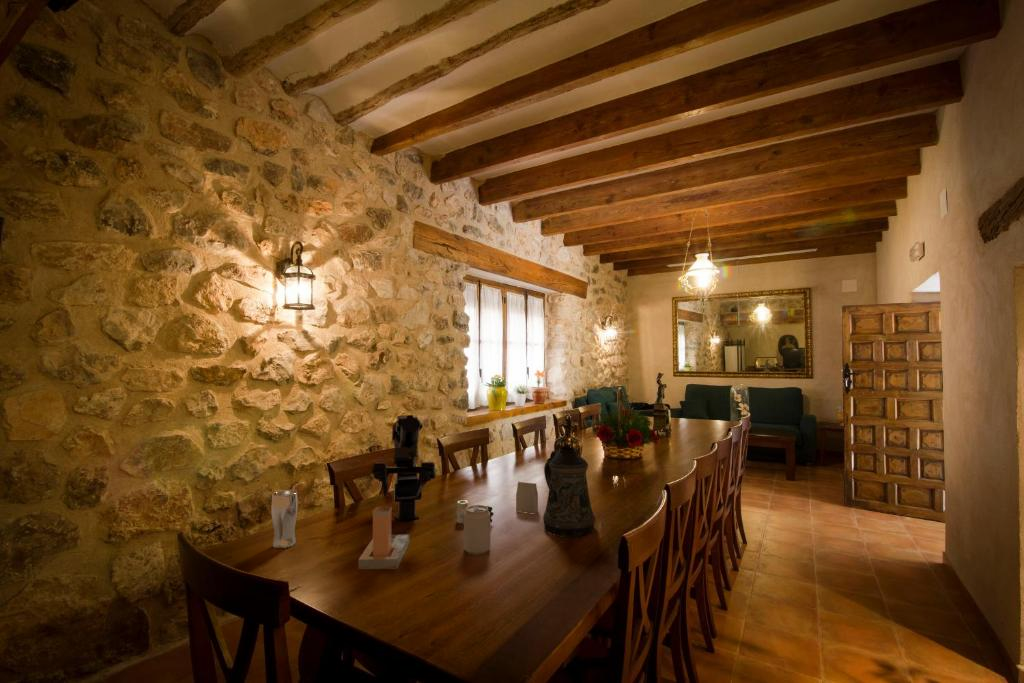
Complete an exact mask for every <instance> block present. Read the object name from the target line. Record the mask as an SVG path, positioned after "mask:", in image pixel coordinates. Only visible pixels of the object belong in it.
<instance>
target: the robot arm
mask: <svg viewBox="0 0 1024 683" xmlns="http://www.w3.org/2000/svg"><path fill="white" fill-rule="evenodd" d="M391 427H392V428H391V440H392V442H393V444H394V445H393V447H394V449H393V459H394V460H393V463H394V465H395V466H388V463H387V462H384V461H383V462H381V461H380V462H374V463H373V464H372V466H371V472H372V474H373V477H374V479H376V480H377V481H378V482H381V484H382V485H381V486H382V492H383V496H384V498H386V497H387V494H388V487H389V475H390V474H397V475H396V483H394V486H393V487H394V488H393V499H394V503H397V502H398V503H397V504H398V509H397V514H394V517H395V518H396V519H398V521H399V522H407V521H412V520H417V518H418V519H420V515H418V514H417V513H416V510H417V509H416V505H417V504H416V501H420V500H421V499H422V491H423V488H424V486H425V485H426V484H427V483H428V482H431V481H432V480H434V479H436V475H437V474H436V473H437V470H436V469H437V468H436V463H434V461H422V462H421V465H420V466H415V465H416V461H417V460H416V459H417V457H418V455H419V446H418V444H419V435H420V431H421V429H423V423H422V422H421V421H420V419H418V417H417V416H414V415H413V414H407V415H405V414H404V415H398V416H397V420H396V421H395V423H393V425H392V426H391Z"/></svg>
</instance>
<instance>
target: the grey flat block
mask: <svg viewBox="0 0 1024 683" xmlns="http://www.w3.org/2000/svg"><path fill="white" fill-rule="evenodd" d="M409 544H410V534H391V556H379V557H373V538H372V539H371V541H370V542H369V544H368V545H367V546H366V548H365V549H364V550H363V552H362V553H361V555H360V556H359V558H358V561H357V562H358V567H357V568H358V570H396V569H398V568H399V567H400V564H401V562H402V560H403V557H404V556H403V555H405V553H406V551H407V549H408V547H409Z"/></svg>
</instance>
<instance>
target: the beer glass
mask: <svg viewBox="0 0 1024 683" xmlns="http://www.w3.org/2000/svg"><path fill="white" fill-rule="evenodd" d="M271 497H272V498H271V519H272V524H273V531H274V532H273V533H274V534H273V535H274V536H273V541H272V548H274V547H275V548H274V549H276V548H284V549H288V548H290V546H291V547H293V546H295V545H296V544H295V543H297V540H296V535H295V530H296V529H295V528H296V522H297V516H298V509H299V508H298V507H299V504H298V503H299V501H298V491H297V490H295V489H283V490H277V491H275V492H273V493H272V496H271ZM294 544H295V545H294ZM287 547H288V548H287Z"/></svg>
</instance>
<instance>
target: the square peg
mask: <svg viewBox="0 0 1024 683" xmlns="http://www.w3.org/2000/svg"><path fill="white" fill-rule="evenodd" d="M392 509H393V508H392V505H391V506H385V505H384V506H375V508H374V509H373V510H372V539H373V557H379V556H391V535H392Z"/></svg>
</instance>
